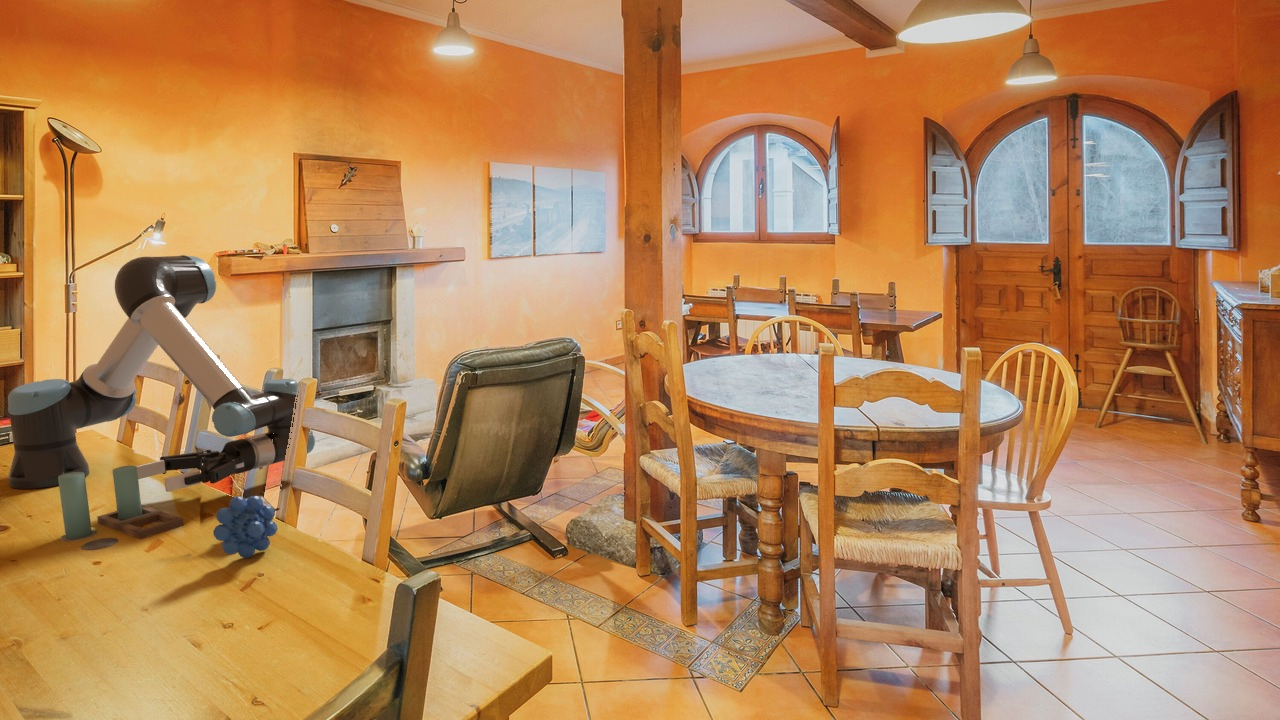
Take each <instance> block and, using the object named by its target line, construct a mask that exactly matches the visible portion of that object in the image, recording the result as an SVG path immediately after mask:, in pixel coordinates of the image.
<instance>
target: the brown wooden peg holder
mask: <svg viewBox="0 0 1280 720" xmlns="http://www.w3.org/2000/svg"><path fill="white" fill-rule="evenodd" d="M141 508H142V515H140V516H137V517H133V518H130V519H127V520H123V521H120V520H118V513H117V510H115V511H112V512H108V513H105V514H101V515H98V516H96V518H97V524H100V525H102V526H105V527H108V528H111V529H113V530H115V531H119V532H121V533H123V534H126V535H129V536H131V537H134V538H136V539H139V540H142V539H145V538H149V537H151V536H154V535H157V534H160V533H164V532H167V531H170V530H174V529H176V528H179V527H183V526H184V525H185V524H184V518H183V517H179V516H177V515H173V514H171V513H168V512H165V511H161V510H159V509H156V508H153V507H150V506H147V505H144V504H141ZM156 522H160V523H158V524H155V525H151V526H148V527H146V528H141V527H143V526H146V525H149V524H153V523H156ZM161 522H162V523H161Z"/></svg>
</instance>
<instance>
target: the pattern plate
mask: <svg viewBox="0 0 1280 720" xmlns="http://www.w3.org/2000/svg"><path fill="white" fill-rule="evenodd" d="M97 533H98V531H97V530H95V529H92V534H91V535H89V536H86V537H83V538H79V539H66V535H65V534H64V535H63V536H61V537H60V541H62V542H75V541H76V542H77V541H82V540H86V539H88V538H91V537H93V536H95V535H97ZM118 542H119V539H118V538H115V537H103V538H98V539H94V540H91V541H87V542H85V543H84V544H82V545H81V546H80V549H81V550H84V551H98V550H102V549H106V548H110V547H112V546H114V545H116V544H118Z"/></svg>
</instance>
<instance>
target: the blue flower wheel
mask: <svg viewBox="0 0 1280 720" xmlns="http://www.w3.org/2000/svg"><path fill="white" fill-rule="evenodd" d="M258 496H259V495H250V496H249V497H247V498H248V499H247V501H246V500H245V499H246V498H245V497H243V496H234V497H232V498H231V499H230V501H229V503H228V504H229V507H222V508H220V509H218V511H217V512H216V520H217V522H218V523H219V524H217V525H216V526H215V527H214V529H213V537H214V538H215V539H216V540H217V541H220V542H222V541H223V542H222V544H221V548H222V550H223V552H224V553H225V554H227V555H235V554H237V553H238V556H240V557H241V558H243V559H248V558H249V559H250V558H251V557H253V556H254V554H255V553H256V551H259V552H261V551H263V552H264V551H266V550H268V549H269V547H270V544H271V541H270V540H271V539H270V538H269V537H273V536H274V535H276V534H277V532H278V525H277V523H276V522H275V521H273V519H274V517H275V515H276V511H274V509H275V508H274V509H273V508H272V507H271V506H269V505H266V506H263V500H262V499H261V498H260V497H258ZM270 520H272V521H270Z"/></svg>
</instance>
